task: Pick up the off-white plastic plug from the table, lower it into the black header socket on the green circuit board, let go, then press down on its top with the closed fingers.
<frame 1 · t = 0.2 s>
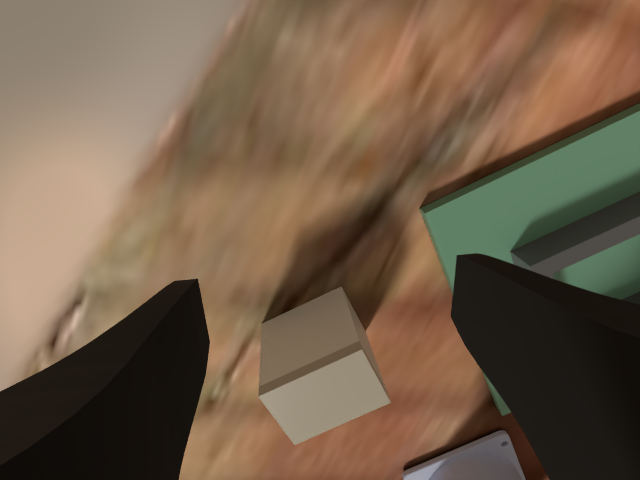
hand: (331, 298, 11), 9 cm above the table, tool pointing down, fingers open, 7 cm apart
board: (589, 263, 23), on the table
plug: (314, 327, 23), on the table
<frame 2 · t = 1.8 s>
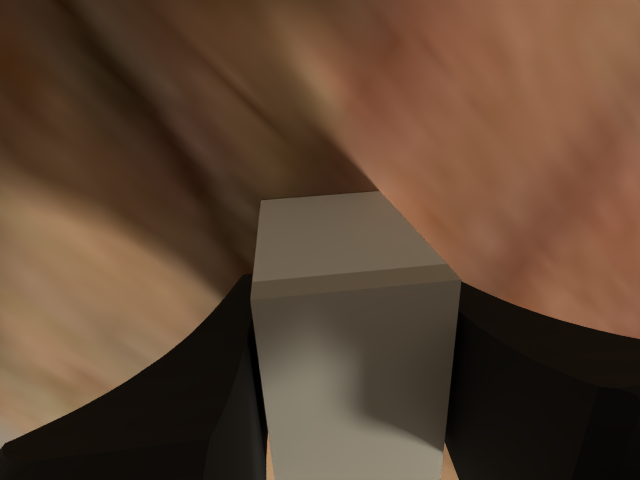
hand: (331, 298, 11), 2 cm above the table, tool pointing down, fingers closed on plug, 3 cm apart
plug: (324, 271, 12), on the table, touching gripper
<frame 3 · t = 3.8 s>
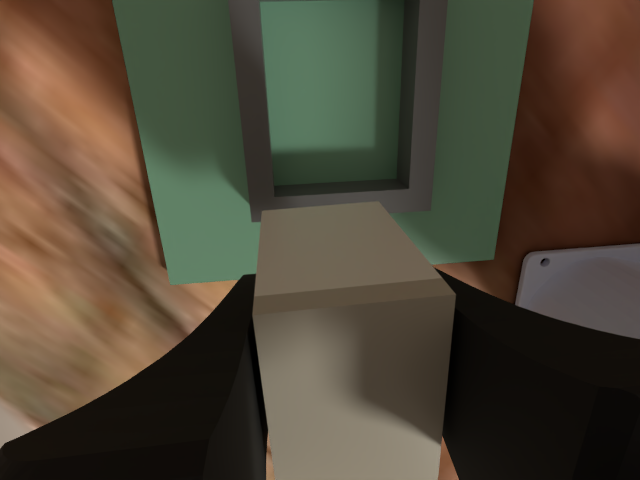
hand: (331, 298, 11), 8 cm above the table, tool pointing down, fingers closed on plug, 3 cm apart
board: (332, 97, 17), on the table
plug: (324, 279, 13), point 7 cm above the table, touching gripper
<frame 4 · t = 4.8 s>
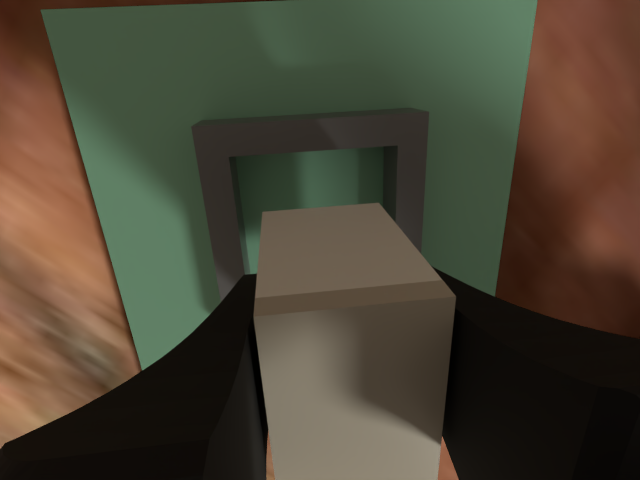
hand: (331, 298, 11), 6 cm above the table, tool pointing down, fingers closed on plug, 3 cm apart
board: (313, 224, 16), on the table
plug: (324, 280, 13), point 4 cm above the table, touching gripper
when the fingers open (3 cm above the table, at t = 5.7 s): plug stays where it is, resting on board.
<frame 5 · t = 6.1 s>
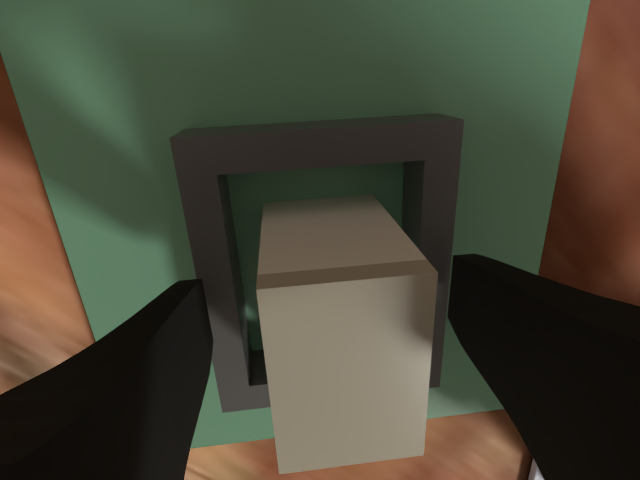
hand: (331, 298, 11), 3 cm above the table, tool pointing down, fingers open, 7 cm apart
board: (319, 249, 14), on the table
plug: (322, 268, 13), point 1 cm above the table, touching board
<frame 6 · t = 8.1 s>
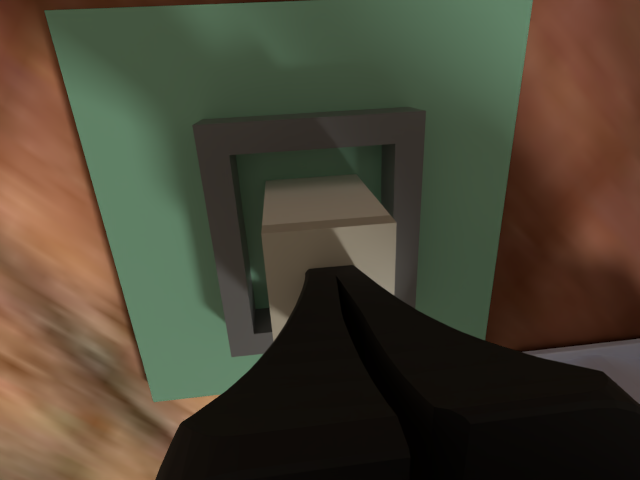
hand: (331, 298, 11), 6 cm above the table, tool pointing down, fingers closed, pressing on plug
board: (312, 222, 17), on the table
plug: (314, 237, 16), point 1 cm above the table, touching board, gripper
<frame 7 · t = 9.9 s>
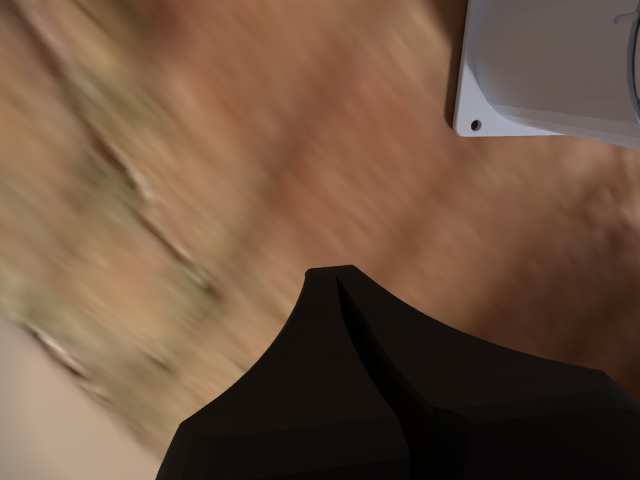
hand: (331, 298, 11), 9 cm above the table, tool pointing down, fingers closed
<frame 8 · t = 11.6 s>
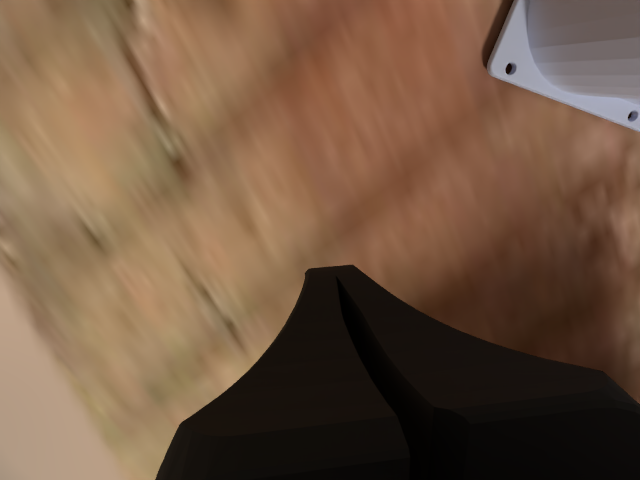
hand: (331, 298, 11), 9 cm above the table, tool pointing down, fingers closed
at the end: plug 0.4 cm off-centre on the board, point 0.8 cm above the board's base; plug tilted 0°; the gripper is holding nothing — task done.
